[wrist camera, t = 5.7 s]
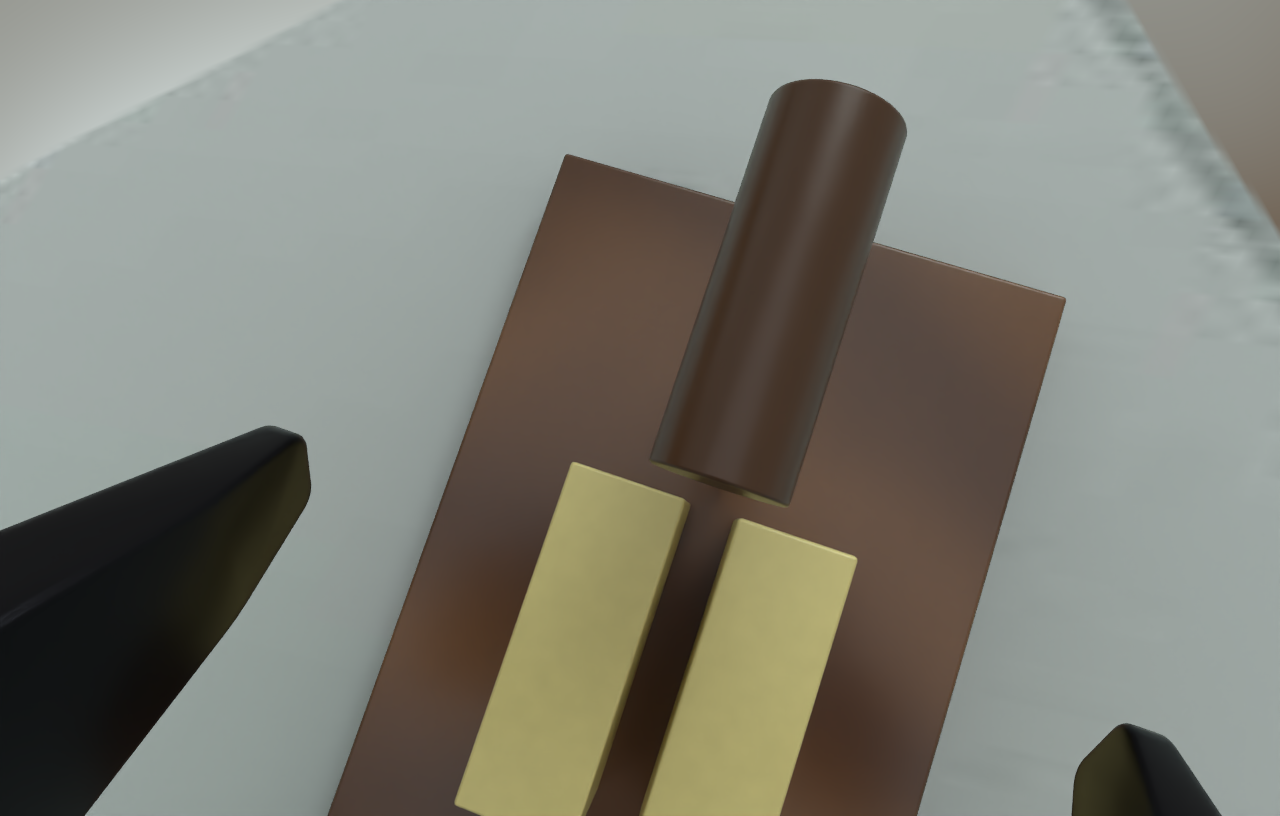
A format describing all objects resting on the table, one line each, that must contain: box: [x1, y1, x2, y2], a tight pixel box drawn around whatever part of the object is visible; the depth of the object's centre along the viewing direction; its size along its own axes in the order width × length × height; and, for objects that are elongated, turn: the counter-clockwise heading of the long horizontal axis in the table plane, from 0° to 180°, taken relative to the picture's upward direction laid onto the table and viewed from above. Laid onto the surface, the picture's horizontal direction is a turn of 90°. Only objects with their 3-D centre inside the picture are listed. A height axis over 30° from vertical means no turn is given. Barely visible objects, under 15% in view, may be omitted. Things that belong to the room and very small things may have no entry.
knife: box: [649, 79, 907, 507], centre depth 15 cm, size 6×2×8 cm, turn 161°
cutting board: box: [327, 154, 1066, 816], centre depth 19 cm, size 20×12×2 cm, turn 161°
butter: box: [455, 462, 857, 816], centre depth 17 cm, size 6×6×4 cm
